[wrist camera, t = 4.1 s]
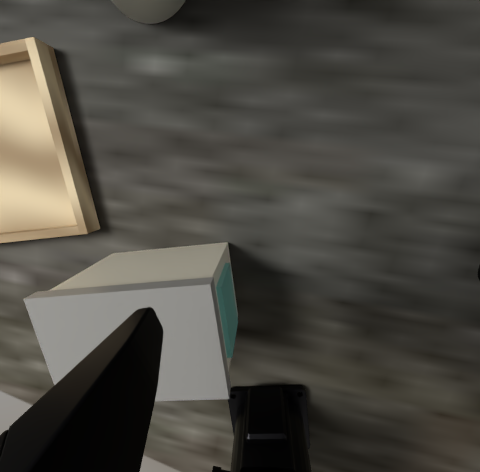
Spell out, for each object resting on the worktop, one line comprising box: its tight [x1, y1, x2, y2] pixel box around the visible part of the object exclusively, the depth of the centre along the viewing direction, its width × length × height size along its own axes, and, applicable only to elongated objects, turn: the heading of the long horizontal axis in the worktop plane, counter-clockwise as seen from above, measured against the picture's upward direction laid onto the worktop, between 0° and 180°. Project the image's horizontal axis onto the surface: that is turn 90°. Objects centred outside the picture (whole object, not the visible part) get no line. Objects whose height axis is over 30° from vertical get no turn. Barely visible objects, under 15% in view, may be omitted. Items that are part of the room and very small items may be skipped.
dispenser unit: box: [24, 242, 238, 401], centre depth 17 cm, size 6×10×8 cm
